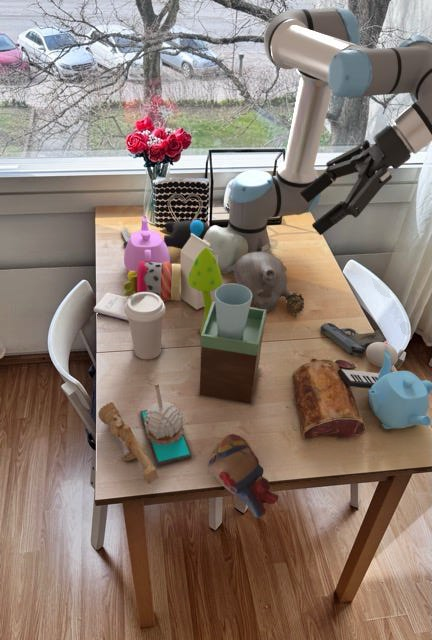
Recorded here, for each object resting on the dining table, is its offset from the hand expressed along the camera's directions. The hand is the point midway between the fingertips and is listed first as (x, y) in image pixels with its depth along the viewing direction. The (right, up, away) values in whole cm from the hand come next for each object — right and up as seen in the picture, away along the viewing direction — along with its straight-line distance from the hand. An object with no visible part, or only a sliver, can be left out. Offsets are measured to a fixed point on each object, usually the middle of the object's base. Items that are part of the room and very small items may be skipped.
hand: (309, 213), depth 112 cm
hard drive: (-39, -16, +34) cm, 54 cm away
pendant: (+4, -14, +38) cm, 41 cm away
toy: (-35, +10, +54) cm, 65 cm away
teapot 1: (-40, 0, +51) cm, 65 cm away
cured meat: (+7, -38, +16) cm, 42 cm away
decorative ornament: (-30, -46, +5) cm, 55 cm away
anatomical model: (-18, -47, -4) cm, 50 cm away
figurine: (-31, -53, -7) cm, 62 cm away
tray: (-15, -24, +7) cm, 29 cm away
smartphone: (-30, -46, +5) cm, 55 cm away
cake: (-29, -7, +37) cm, 48 cm away
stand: (-16, -35, +18) cm, 42 cm away
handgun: (+22, -20, +33) cm, 45 cm away
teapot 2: (+20, -42, +12) cm, 48 cm away
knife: (-49, +9, +59) cm, 77 cm away
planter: (-12, +1, +46) cm, 47 cm away
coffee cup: (-36, -27, +25) cm, 51 cm away
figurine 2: (+22, -25, +20) cm, 39 cm away
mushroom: (-22, -22, +31) cm, 44 cm away
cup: (-16, -24, +6) cm, 30 cm away
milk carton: (-24, -12, +41) cm, 49 cm away
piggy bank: (-8, -10, +43) cm, 45 cm away
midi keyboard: (+16, -32, +16) cm, 39 cm away
